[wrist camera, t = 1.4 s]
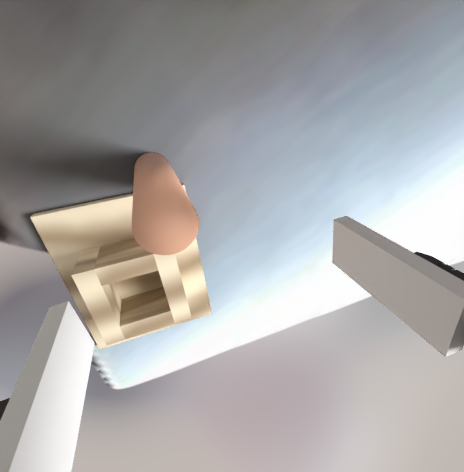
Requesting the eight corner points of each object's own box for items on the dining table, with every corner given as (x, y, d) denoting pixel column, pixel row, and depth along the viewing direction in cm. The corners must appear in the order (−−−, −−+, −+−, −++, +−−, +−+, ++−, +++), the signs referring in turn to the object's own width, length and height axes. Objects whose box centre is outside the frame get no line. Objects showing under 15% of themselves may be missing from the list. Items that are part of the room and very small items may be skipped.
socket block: (33, 213, 28) (10, 238, 23) (183, 182, 32) (192, 197, 26) (100, 343, 38) (94, 381, 32) (210, 309, 41) (220, 338, 36)
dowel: (129, 155, 29) (122, 203, 15) (166, 149, 29) (192, 187, 16) (140, 191, 30) (142, 262, 17) (174, 184, 31) (204, 246, 18)
